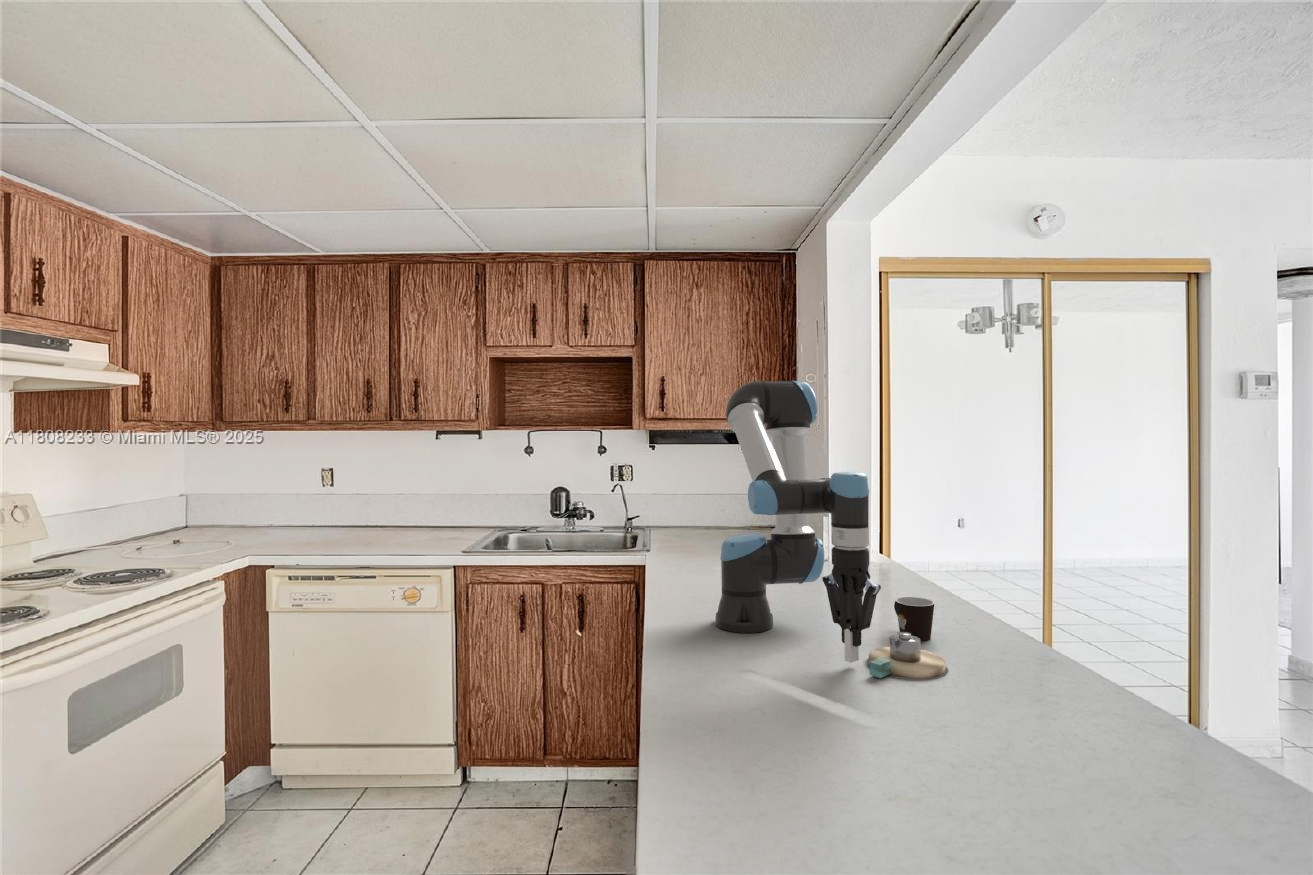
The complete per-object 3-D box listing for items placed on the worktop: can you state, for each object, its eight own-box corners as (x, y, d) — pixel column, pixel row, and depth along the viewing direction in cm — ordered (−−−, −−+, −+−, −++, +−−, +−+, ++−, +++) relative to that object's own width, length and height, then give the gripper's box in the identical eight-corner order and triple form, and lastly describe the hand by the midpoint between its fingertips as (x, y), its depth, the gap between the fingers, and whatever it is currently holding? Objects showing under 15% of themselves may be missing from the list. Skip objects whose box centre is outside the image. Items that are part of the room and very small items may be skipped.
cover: (884, 657, 137) (883, 633, 137) (900, 651, 140) (899, 627, 140) (910, 664, 132) (910, 640, 132) (926, 658, 136) (925, 634, 136)
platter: (894, 648, 146) (894, 635, 146) (959, 666, 135) (959, 652, 135) (843, 668, 135) (842, 653, 135) (909, 689, 123) (909, 673, 123)
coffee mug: (938, 650, 149) (938, 606, 149) (899, 648, 151) (898, 605, 151) (928, 634, 161) (927, 594, 161) (891, 633, 163) (891, 593, 163)
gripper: (813, 545, 138) (814, 656, 138) (866, 553, 128) (868, 673, 128) (835, 541, 143) (836, 648, 143) (888, 548, 132) (890, 664, 132)
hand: (851, 660), depth 135 cm, fingers closed
